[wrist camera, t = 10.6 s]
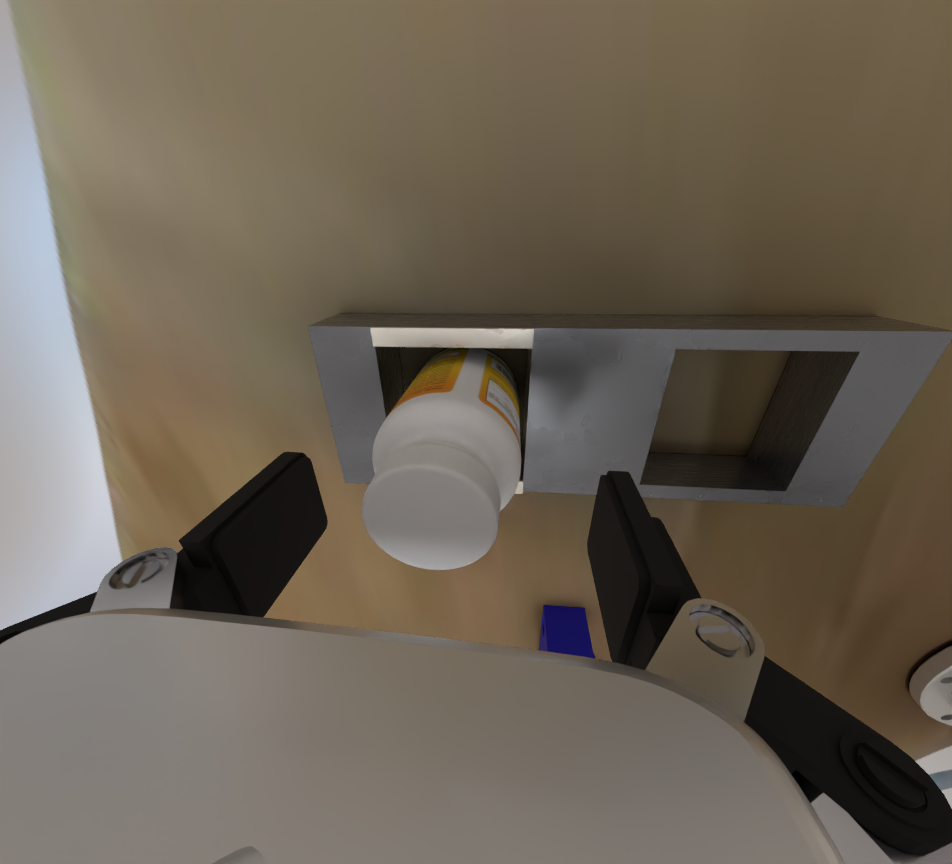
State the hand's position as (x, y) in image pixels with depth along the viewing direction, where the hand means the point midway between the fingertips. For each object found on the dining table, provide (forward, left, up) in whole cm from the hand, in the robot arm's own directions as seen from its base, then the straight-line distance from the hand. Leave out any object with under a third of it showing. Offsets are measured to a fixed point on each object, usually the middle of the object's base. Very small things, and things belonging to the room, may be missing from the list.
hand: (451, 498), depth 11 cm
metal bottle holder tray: (-5, 0, -8) cm, 10 cm away
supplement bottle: (0, 0, -9) cm, 8 cm away
